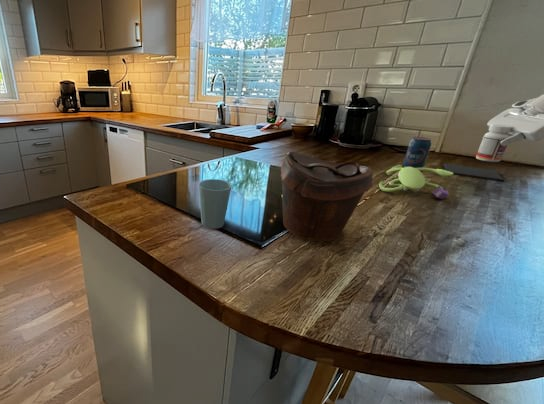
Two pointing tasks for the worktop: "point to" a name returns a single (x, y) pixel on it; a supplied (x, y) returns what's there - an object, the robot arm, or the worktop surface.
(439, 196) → the green soft sprawling figure
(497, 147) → the pill bottle
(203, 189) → the cup
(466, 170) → the mat
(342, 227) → the brown tapered round container
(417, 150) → the soda can
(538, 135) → the robot arm
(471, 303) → the worktop surface
